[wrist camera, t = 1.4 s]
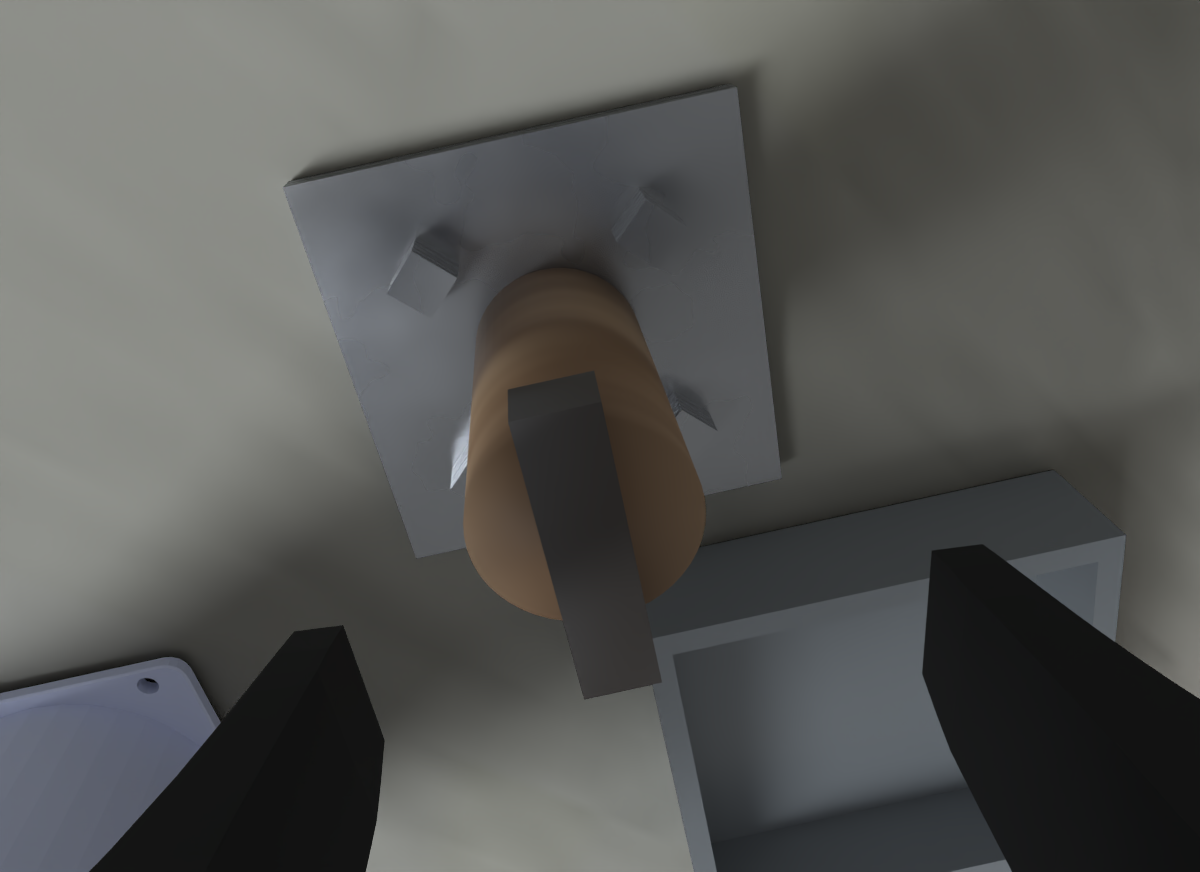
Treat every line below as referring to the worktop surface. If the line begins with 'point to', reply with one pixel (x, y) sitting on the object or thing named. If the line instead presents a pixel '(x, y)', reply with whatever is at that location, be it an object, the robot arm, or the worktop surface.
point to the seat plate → (535, 242)
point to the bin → (848, 679)
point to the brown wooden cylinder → (578, 472)
